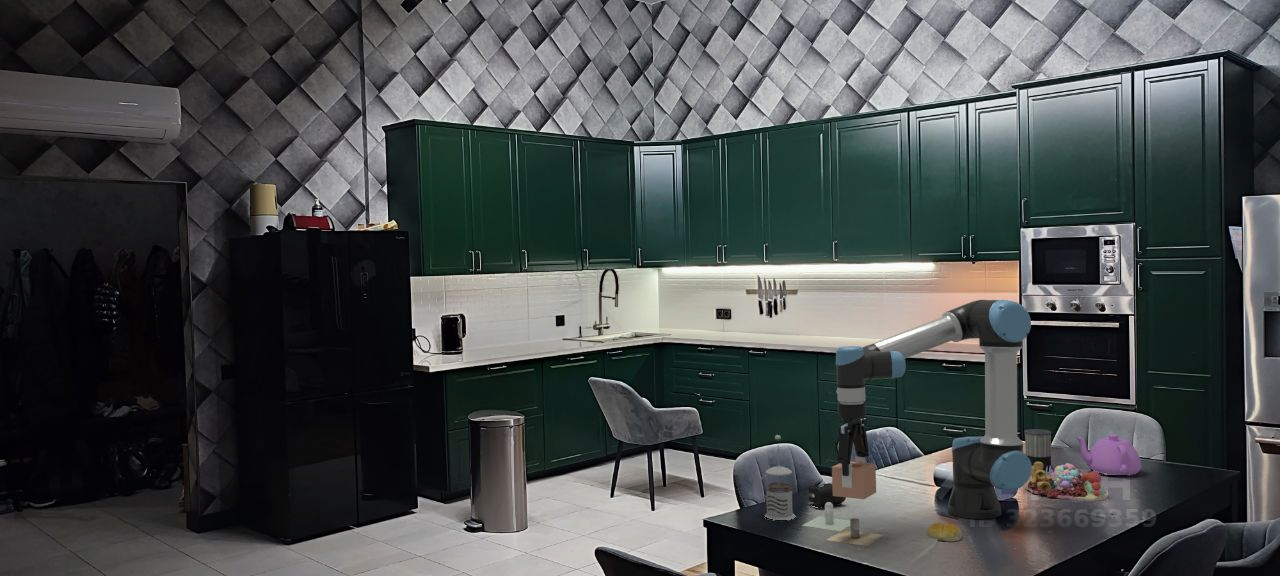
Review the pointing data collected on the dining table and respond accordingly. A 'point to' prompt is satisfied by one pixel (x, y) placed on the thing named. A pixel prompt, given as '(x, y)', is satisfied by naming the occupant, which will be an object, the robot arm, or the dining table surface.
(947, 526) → the bread roll
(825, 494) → the black rounded block
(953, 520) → the dining table surface
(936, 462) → the dining table surface
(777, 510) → the french press
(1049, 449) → the milk frother
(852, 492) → the collar
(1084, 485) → the plate of food
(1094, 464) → the teapot
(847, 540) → the stand
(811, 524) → the green base with peg
